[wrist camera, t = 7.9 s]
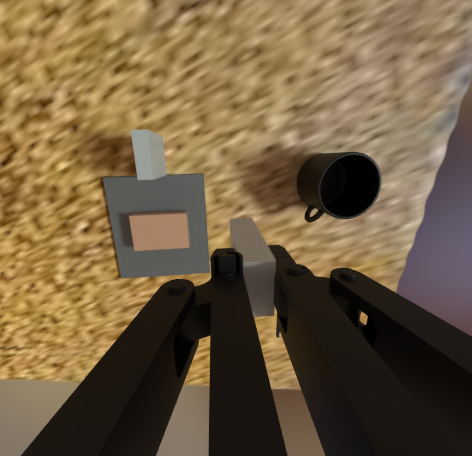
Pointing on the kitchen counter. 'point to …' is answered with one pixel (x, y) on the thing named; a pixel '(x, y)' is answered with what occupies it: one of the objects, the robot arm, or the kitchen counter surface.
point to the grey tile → (148, 154)
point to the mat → (158, 200)
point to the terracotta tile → (160, 230)
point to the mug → (339, 184)
